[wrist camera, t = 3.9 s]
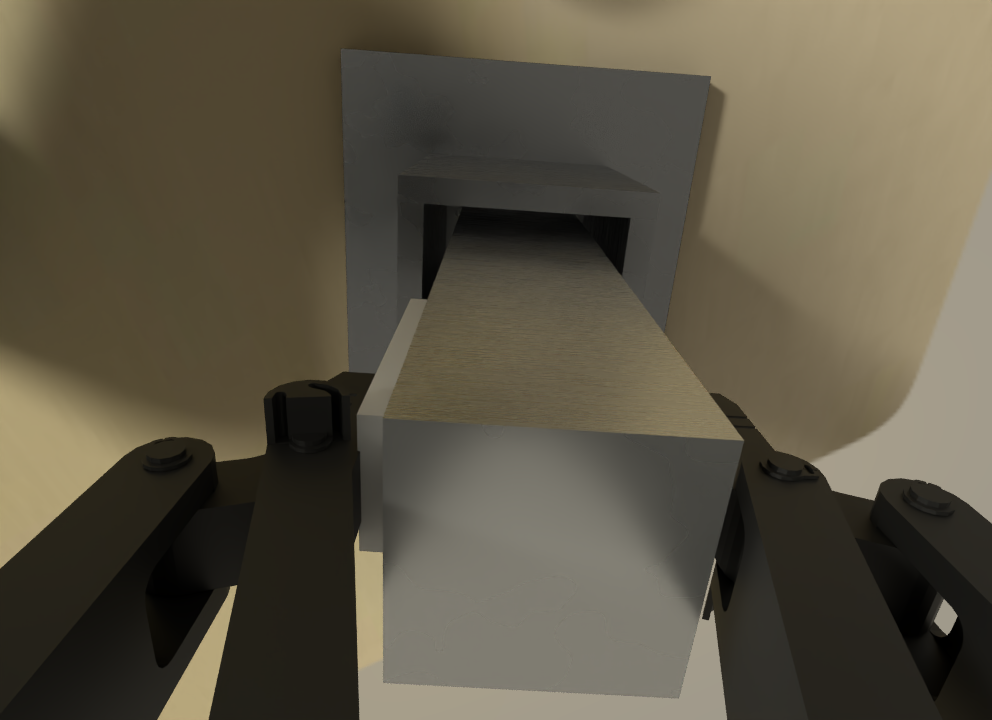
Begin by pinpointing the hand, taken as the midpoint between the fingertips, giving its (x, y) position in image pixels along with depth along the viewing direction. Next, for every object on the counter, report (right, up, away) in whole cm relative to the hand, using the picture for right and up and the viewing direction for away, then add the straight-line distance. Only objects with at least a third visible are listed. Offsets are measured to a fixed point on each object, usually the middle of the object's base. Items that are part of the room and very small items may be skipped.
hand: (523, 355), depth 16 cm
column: (0, +5, +13) cm, 14 cm away
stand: (0, +6, +14) cm, 15 cm away
